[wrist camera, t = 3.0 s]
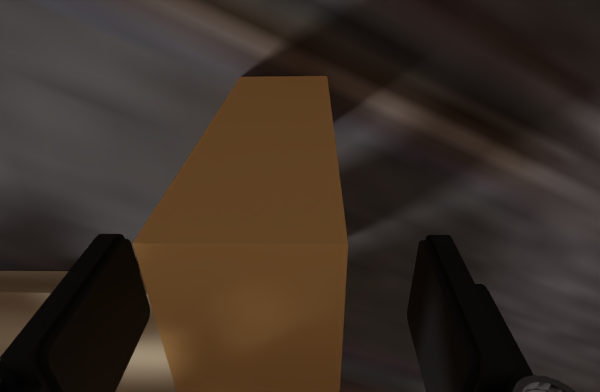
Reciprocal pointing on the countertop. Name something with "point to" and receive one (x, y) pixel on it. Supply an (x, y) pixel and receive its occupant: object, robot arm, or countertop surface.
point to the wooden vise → (32, 294)
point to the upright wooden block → (253, 246)
